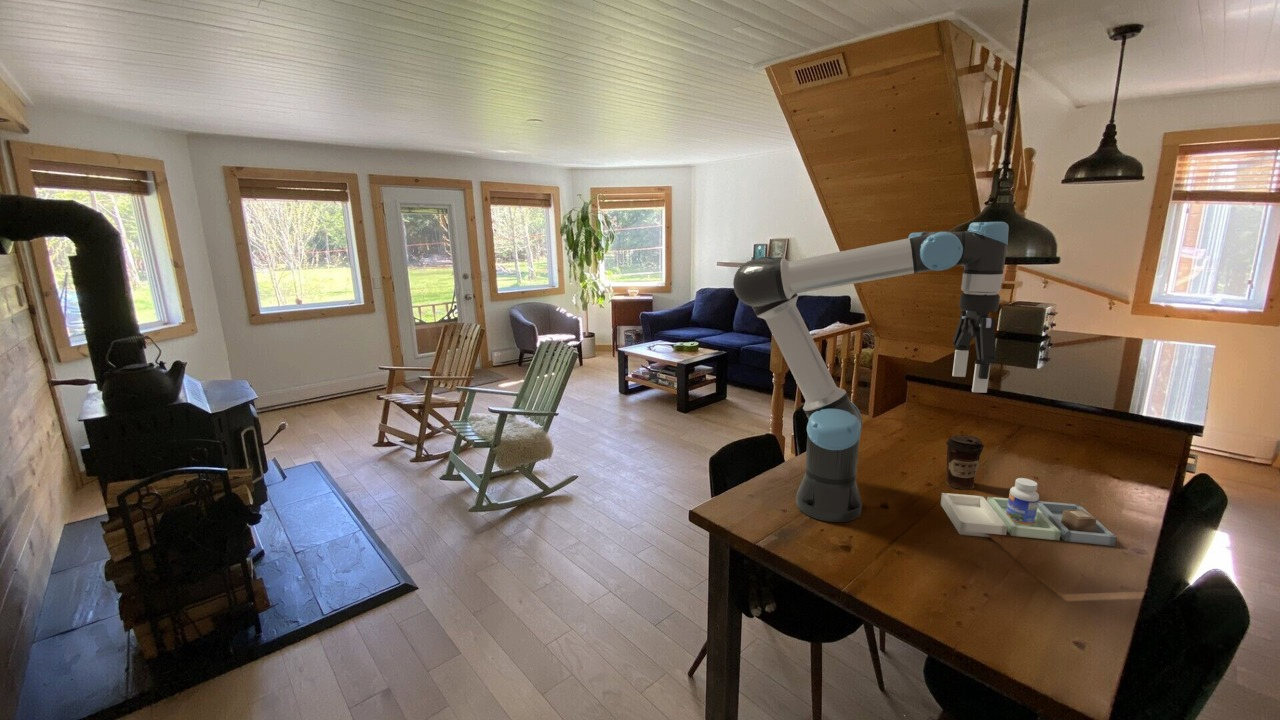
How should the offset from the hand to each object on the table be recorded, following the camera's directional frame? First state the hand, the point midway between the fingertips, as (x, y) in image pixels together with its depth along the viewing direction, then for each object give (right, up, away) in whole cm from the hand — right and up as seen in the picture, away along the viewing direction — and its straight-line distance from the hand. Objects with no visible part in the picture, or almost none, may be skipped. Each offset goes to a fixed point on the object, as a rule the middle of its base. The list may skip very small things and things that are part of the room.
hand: (968, 383), depth 124 cm
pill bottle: (+10, -31, -3) cm, 33 cm away
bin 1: (0, -32, -1) cm, 32 cm away
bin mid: (+10, -32, -3) cm, 34 cm away
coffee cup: (+8, -28, +16) cm, 33 cm away
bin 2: (+20, -32, -5) cm, 38 cm away
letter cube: (+19, -32, -8) cm, 38 cm away
